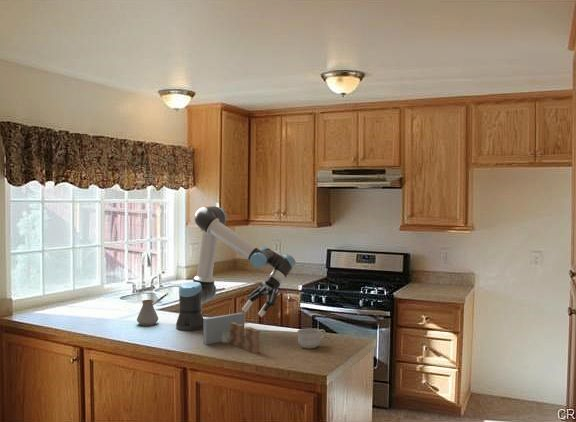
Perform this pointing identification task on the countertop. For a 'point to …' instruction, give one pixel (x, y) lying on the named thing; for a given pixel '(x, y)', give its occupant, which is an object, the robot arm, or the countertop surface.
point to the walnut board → (245, 337)
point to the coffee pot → (148, 312)
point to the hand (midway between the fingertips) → (251, 313)
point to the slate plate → (219, 327)
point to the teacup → (310, 337)
